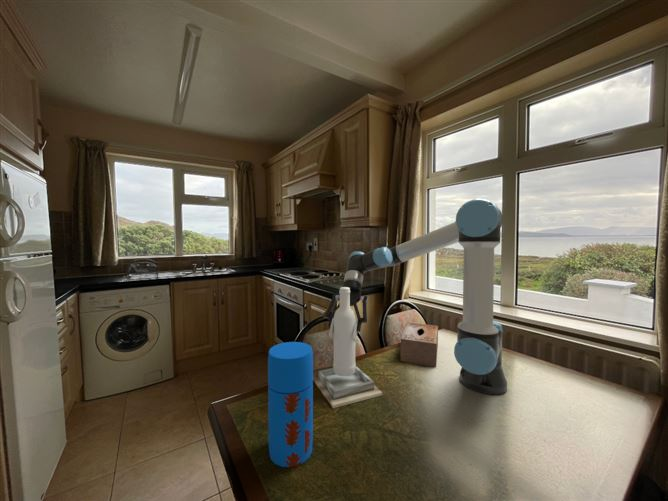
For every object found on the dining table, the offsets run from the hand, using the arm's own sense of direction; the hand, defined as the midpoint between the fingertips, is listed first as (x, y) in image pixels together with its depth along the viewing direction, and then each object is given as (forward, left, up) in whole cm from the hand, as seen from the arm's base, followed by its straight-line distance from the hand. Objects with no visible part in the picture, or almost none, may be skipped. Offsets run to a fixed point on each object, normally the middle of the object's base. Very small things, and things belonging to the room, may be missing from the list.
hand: (342, 338), depth 92 cm
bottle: (+3, -2, -13) cm, 14 cm away
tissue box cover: (+15, -48, -19) cm, 53 cm away
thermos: (-19, +23, -19) cm, 35 cm away
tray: (+2, -2, -18) cm, 19 cm away
